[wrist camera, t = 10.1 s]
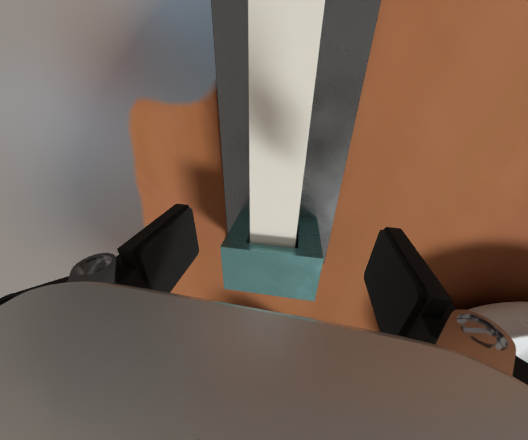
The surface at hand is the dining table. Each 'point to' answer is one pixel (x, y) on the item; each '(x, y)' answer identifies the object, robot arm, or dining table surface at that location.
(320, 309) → the dining table surface
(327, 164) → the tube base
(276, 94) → the white rectangular stick
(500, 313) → the serving bowl
